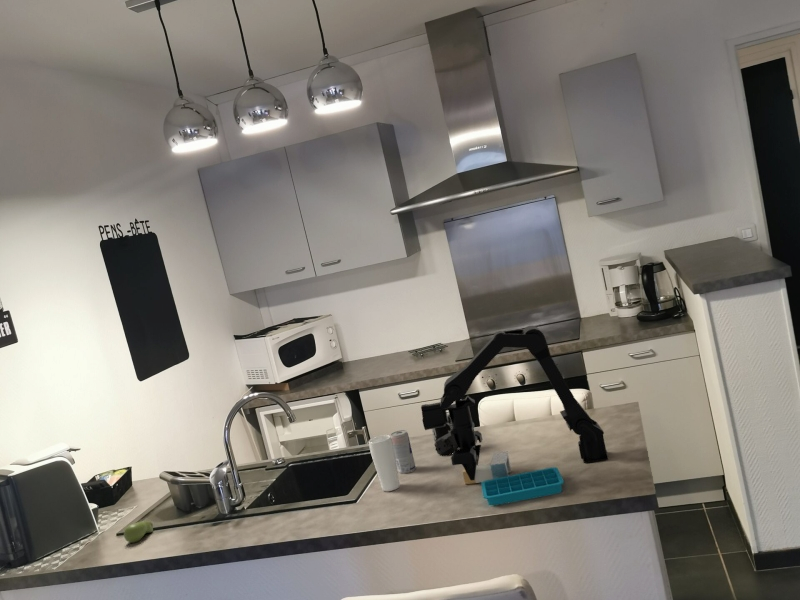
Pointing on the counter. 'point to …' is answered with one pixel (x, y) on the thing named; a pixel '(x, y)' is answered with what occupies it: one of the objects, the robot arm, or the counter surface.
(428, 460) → the counter surface
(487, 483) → the ice cube tray
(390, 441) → the drinking glass
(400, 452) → the energy drink
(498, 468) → the gray rectangular block
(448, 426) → the beverage can
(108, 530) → the counter surface
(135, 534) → the pear
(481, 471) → the tan-tipped white bar
